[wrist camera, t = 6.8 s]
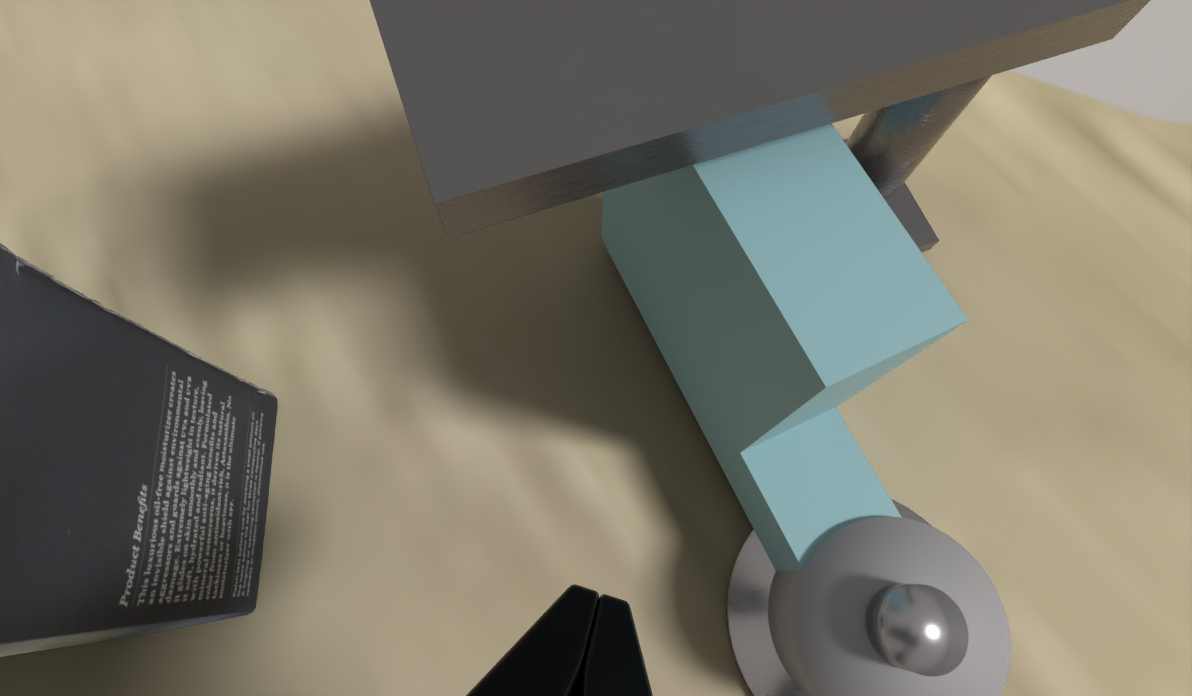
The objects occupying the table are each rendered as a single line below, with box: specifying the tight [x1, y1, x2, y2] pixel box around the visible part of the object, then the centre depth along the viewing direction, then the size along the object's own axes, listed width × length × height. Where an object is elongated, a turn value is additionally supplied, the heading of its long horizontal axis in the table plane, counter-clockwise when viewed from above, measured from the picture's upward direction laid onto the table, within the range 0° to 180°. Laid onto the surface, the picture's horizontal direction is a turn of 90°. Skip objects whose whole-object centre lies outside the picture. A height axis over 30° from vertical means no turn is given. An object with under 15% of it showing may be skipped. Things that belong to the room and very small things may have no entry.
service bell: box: [727, 499, 969, 696], centre depth 15 cm, size 7×7×4 cm
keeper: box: [370, 0, 1150, 252], centre depth 16 cm, size 14×5×11 cm, turn 110°
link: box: [601, 123, 1011, 696], centre depth 15 cm, size 15×5×8 cm, turn 25°
